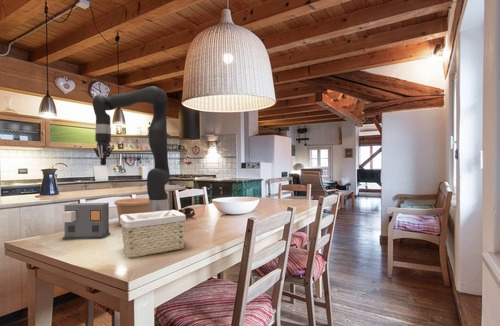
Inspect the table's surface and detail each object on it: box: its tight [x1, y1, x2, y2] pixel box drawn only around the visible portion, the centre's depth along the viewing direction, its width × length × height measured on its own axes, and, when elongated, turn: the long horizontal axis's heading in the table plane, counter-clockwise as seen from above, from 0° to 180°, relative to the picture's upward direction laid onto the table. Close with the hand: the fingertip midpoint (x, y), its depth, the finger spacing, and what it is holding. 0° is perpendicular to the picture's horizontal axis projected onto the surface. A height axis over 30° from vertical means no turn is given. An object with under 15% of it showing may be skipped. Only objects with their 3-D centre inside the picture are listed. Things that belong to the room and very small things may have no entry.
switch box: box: [62, 202, 111, 240], centre depth 139 cm, size 8×18×16 cm, turn 94°
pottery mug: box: [177, 207, 196, 220], centre depth 184 cm, size 12×10×8 cm
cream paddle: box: [61, 211, 77, 223], centre depth 133 cm, size 5×4×4 cm
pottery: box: [114, 197, 149, 228], centre depth 167 cm, size 22×22×14 cm
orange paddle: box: [91, 210, 101, 220], centre depth 138 cm, size 5×4×4 cm
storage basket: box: [119, 209, 186, 258], centre depth 118 cm, size 24×16×15 cm
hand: (103, 165), depth 154 cm, fingers closed
